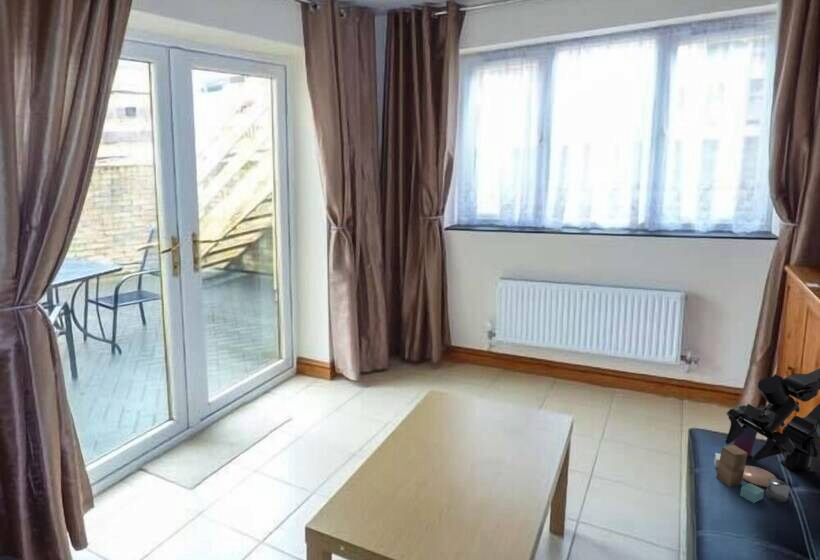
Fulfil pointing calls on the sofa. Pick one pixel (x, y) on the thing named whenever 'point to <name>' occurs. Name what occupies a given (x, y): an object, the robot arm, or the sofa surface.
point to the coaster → (757, 476)
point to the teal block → (752, 492)
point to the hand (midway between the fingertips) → (739, 451)
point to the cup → (745, 436)
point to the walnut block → (731, 465)
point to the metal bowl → (777, 490)
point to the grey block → (717, 460)
